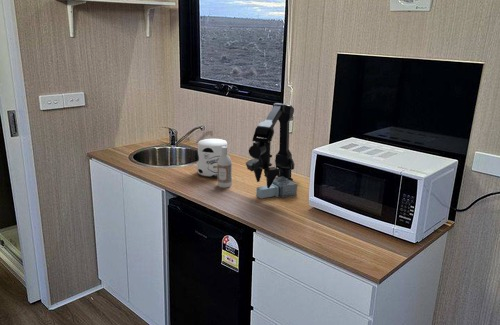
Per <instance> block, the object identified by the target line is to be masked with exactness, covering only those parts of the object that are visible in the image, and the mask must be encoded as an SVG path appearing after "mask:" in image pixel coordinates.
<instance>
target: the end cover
mask: <svg viewBox="0 0 500 325" xmlns="http://www.w3.org/2000/svg"><path fill="white" fill-rule="evenodd" d="M255 192H256V197H257V198H259V199H265V198H270V197H271V198H272V197H277V198H278V197H279V186H277V185H274V184H271V186H270V188H267V185H262V186H257V187H256V191H255Z"/></svg>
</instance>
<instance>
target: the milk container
mask: <svg viewBox="0 0 500 325" xmlns="http://www.w3.org/2000/svg"><path fill="white" fill-rule="evenodd" d="M222 146H226V147H227V148H228V142H227V140H225V139H221V138H205V139H201V140H199V141H198V142H197V162H196V171H197V173H198V175H200V176H202V177H206V178H218V172H217V163H218V159H219V157H220V156H221V154H222V153H221V147H222ZM228 150H229V149H227V152H228Z"/></svg>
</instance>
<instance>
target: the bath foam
mask: <svg viewBox="0 0 500 325" xmlns="http://www.w3.org/2000/svg"><path fill="white" fill-rule="evenodd" d="M227 150H228V146H227V147H226V146H222V147H221V153H222V154H221V156H220V157H219V159H218V163H217V172H218V177H217V186H218V188H222V189H224V188H226V189H227V188H230V187H231V186H232V184H233V183H232V181H233V180H232V177H233V176H232V168H233V167H232V165H233V164H232V159H231V157H230V155H229V153H228V151H227Z"/></svg>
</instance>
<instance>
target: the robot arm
mask: <svg viewBox="0 0 500 325" xmlns="http://www.w3.org/2000/svg"><path fill="white" fill-rule="evenodd" d="M294 112H295V107H294V106H292V105H291V104H284V103H279V102H275V103H273V104H272V108H271V110H270V112H269V113H268V115H267V116H266V118H265V119H264V120H263V121H261V122H259V123H258V125H257V126H256V127H255V130H254V133H253V137H252V145H251V146H250V147H249V149H248V154H249V157H250V158H251V159H249V160H248V161H246V162H245V165H246V169H247V170H249V171H250V172H253V173H254V177H255V180H256V182H257V183H259V182H260V181H261V177H262V173H263V172H264V173H263V176H264V177H265V178H266V179H265V180H266V186H267V188H270V186H271V184H272V183H273V181H274V179H275V178H276V177H282V176H283V177H285V178H287V179H289V180H291V181H293V180H294V178H292V171H293V170H295V162H294V160H293V155H292V153H291V151H290V122H291V121H292V118H293V117H294ZM277 122H279V150H278V152H277V153H276V154H275V159H274V162H275V163H274V164H275V166H273V163H271V158H273V155H272V154H271V142H272V140H273V137H274V134H275V129H274V128H275V125H276V124H277Z"/></svg>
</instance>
